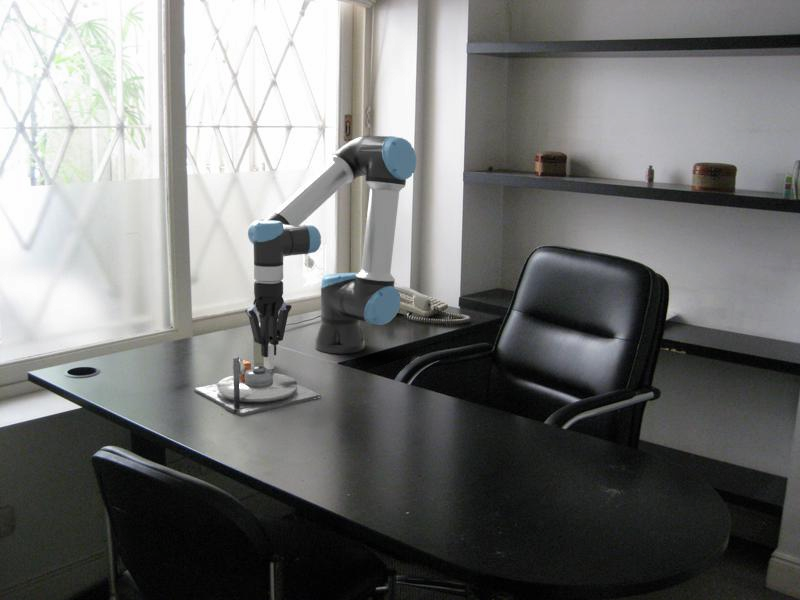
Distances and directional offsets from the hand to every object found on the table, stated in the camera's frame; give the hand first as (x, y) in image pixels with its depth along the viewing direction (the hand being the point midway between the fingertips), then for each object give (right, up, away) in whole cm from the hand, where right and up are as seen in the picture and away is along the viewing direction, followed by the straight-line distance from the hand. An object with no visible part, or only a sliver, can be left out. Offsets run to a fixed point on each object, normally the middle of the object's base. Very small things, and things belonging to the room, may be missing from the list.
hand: (268, 367), depth 227 cm
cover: (-1, -3, -10) cm, 10 cm away
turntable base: (-1, -6, -9) cm, 11 cm away
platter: (-1, -5, -10) cm, 11 cm away
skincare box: (-4, -1, +14) cm, 15 cm away
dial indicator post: (-5, -8, -21) cm, 23 cm away
